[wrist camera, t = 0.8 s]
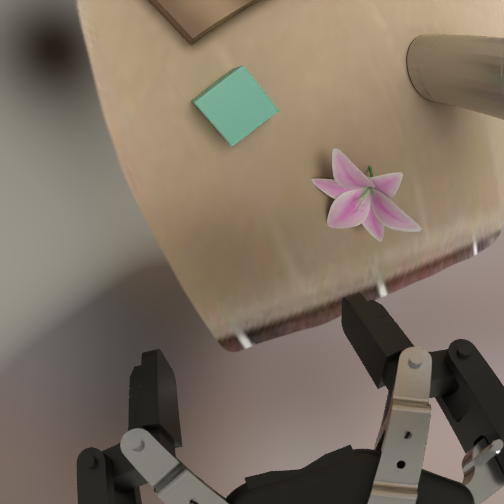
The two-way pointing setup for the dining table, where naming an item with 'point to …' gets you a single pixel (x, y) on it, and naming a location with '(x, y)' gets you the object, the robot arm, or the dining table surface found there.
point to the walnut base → (198, 14)
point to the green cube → (235, 105)
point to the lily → (363, 199)
